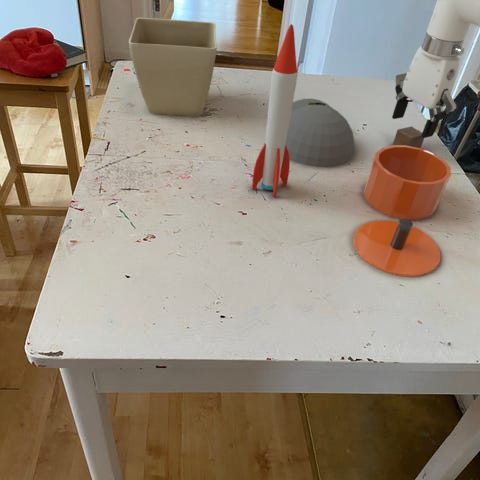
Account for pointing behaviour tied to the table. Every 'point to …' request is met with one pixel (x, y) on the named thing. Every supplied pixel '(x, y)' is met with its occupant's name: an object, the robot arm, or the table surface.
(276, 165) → the toy rocket
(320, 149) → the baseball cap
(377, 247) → the lid
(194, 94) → the flower pot
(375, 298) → the table surface
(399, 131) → the block
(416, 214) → the pot
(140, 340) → the table surface
